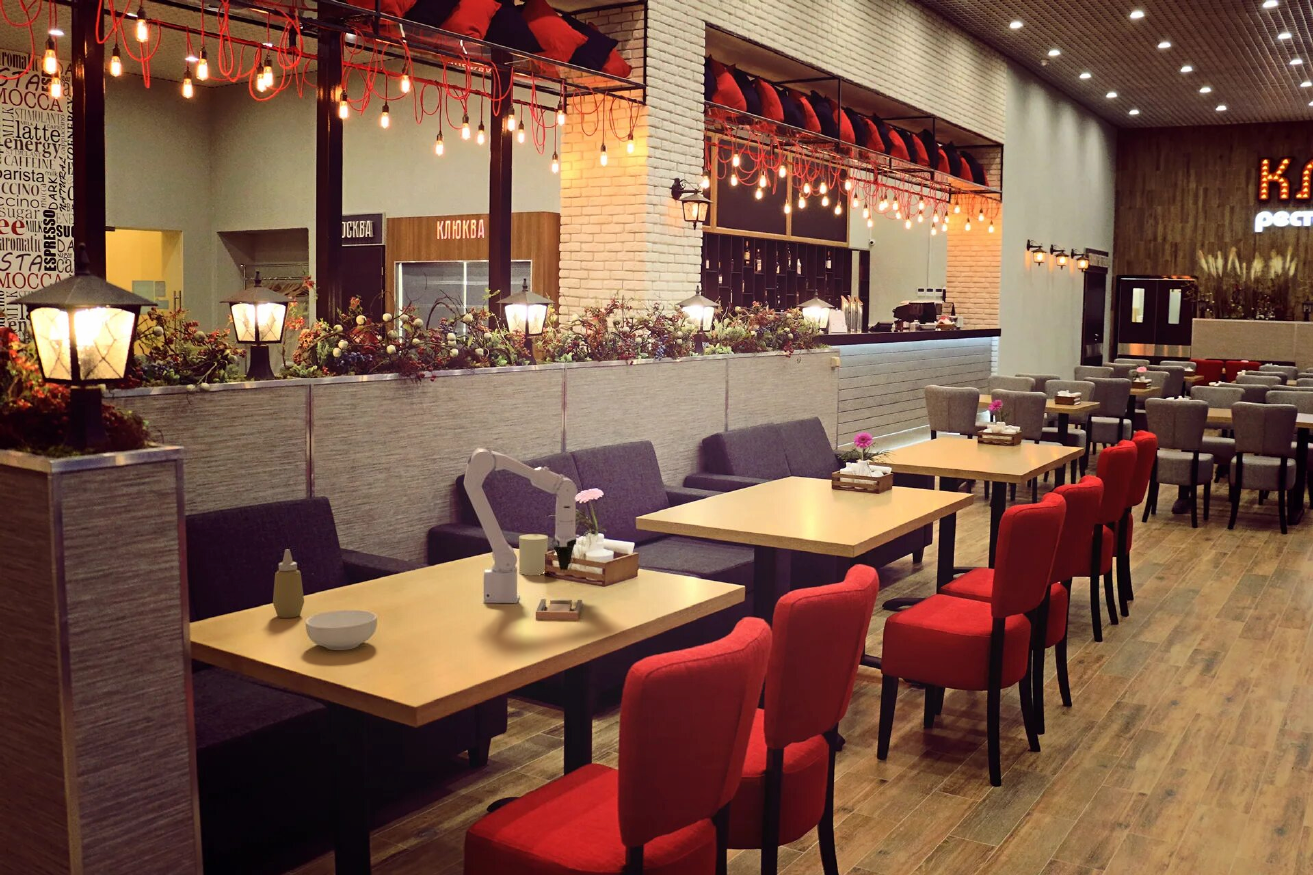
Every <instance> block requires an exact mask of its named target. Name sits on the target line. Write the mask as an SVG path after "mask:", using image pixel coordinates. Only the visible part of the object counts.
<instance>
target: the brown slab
mask: <svg viewBox="0 0 1313 875" xmlns="http://www.w3.org/2000/svg"><path fill="white" fill-rule="evenodd" d="M572 607H573V600H572V599H557V598H556V599H551V598H550V600H549V605H548V608H547V610H546V611H571V610H572Z"/></svg>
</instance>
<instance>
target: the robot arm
mask: <svg viewBox="0 0 1313 875" xmlns="http://www.w3.org/2000/svg"><path fill="white" fill-rule="evenodd" d="M493 469H494V470H495V472H496V471H502V470H506V471H509V472H512V473H514V474H516V475H519V476H522V477H523V478H526V479H528V480H530V483H531V485H532V486H534V487H536V488H538V489H541V490H542V491H544V492H548V493H549V494H551V495H553V494H555V495H556V498H555V499H556V504H555V532H554V533H555V534H554V539H555V540H556V542H557V544H554V545H553V549H554V551H555V554H556V557H557V559H558V560H557V561H558V566H559V570H560V571H568V568H569V566H570V564H571V561H572V556H573V551H574V547H575V544H576V542H577V539H579V538H580V534H576V517H577V516H576V515H577V514H576V509H577V508H576V497H577V495H578V492H579V490H578V487H577V485H576V483H575V482H574V481H573V480H572V479H571V478H569V477H567V476H565V474H561V473H560V474H558V473H556V472H553V471H551V470H550V468H549V467H547V466H544V467H542V466H538V467H536V468H533V467H531V466H529V465H527V464H524V463H523V462H520V461H519V460H516V459H514V458H512V457H510V456H509V455H507V454H503V453H500V452H499V451H495V450H489V449H487V448H486V447H477V448H475V449H474V450H472V452H471V454H470V455H469V456H468V459H467V461H466V469H465V472H464V473H465V474H464V479H463V486H464V489H465V492H466V494H467V496H468V498H469V500H470V503H471V504H472V507H473V509H474V511H475V514H476V515H477V518H478V520H479V522H480V525H481V528H482V529H483V532H484V533H485V536H486V538H487V540H488V543H489V544H490V545H489V546H490V547H491V550H492V553H491V556H492V559H493V561H494V564H493V565H492V566H491V568H488V569H487V568H486V569H484V571H483V572H484V573H483V601H482V602H483V603H485V604H487V603H492V604H495V603H496V604H499V603H500V604H502V603H503V604H508V603H509V604H517V603H518V601H519V599H520V597H521V595H520V594H518V567H517V566H516V565H517V562H518V557H517V555H516V553H515V551H514V548H513V547H512V545H511V544H509V543H508V542H507V541H506V539H505V537H504V534H503V531H502V529H501V527H500V525H499V523H498V520H497V518H496V516H495V514H494V511H493V509H492V507H491V505H490V503H489V500H488V498H487V496H486V493H485V492H484V490H483V489H484V488H483V484H484V481H485V479H486V477H487V476H488V475H489V474H490V473H491V471H493Z"/></svg>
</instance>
